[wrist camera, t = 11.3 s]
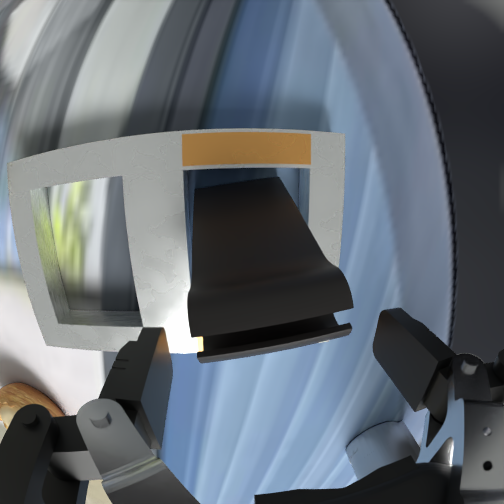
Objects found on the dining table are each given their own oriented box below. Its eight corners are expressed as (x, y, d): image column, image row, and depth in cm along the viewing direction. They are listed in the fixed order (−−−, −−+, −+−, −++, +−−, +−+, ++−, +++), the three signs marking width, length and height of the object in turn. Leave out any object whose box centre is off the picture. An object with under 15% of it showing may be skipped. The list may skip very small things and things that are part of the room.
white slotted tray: (331, 136, 19) (346, 133, 17) (319, 325, 24) (329, 342, 22) (24, 161, 17) (5, 163, 14) (57, 331, 22) (45, 346, 19)
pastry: (91, 434, 28) (79, 485, 19) (37, 429, 27) (22, 470, 18) (42, 374, 23) (14, 428, 15) (-8, 373, 22) (-33, 415, 14)
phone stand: (195, 187, 19) (162, 225, 8) (278, 176, 20) (354, 198, 8) (215, 301, 22) (217, 421, 11) (288, 289, 23) (345, 396, 11)
